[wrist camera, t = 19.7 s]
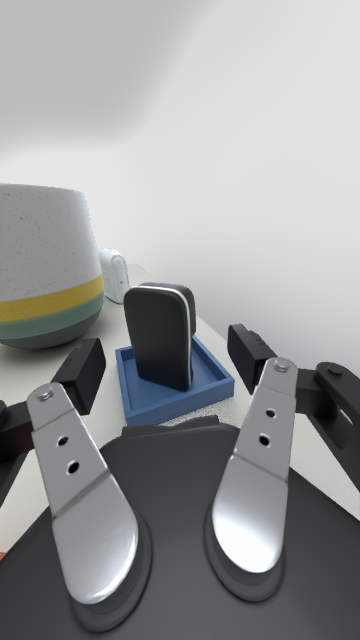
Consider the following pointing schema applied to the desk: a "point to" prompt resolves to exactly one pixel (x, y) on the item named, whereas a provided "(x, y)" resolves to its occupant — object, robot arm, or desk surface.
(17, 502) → the desk surface
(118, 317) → the desk surface
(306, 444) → the desk surface
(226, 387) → the blue tray
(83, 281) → the planter
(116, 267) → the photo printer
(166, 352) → the battery charger
